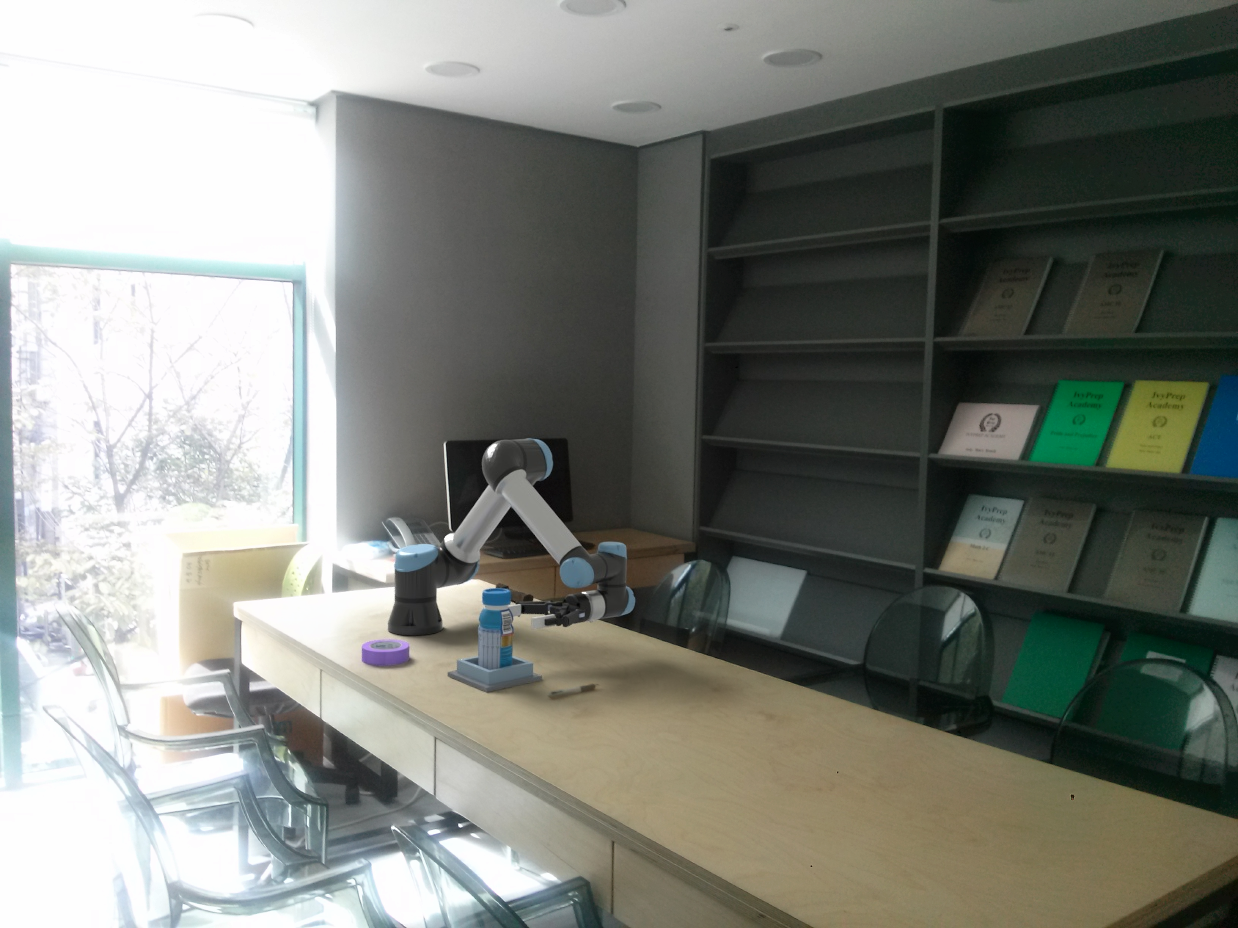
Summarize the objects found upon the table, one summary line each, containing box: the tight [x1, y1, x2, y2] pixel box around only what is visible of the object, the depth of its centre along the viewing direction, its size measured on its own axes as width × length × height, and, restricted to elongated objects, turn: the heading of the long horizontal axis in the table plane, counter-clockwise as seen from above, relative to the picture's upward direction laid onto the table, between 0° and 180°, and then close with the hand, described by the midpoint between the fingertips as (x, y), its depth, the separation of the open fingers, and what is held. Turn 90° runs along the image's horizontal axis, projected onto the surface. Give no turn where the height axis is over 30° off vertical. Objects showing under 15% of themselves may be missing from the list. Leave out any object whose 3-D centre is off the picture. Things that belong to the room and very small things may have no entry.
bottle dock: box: [447, 655, 543, 693], centre depth 241 cm, size 16×16×4 cm
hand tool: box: [495, 582, 534, 603], centre depth 328 cm, size 19×4×5 cm, turn 38°
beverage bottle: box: [477, 587, 515, 670], centre depth 241 cm, size 8×8×20 cm
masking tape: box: [361, 638, 410, 666], centre depth 255 cm, size 12×12×4 cm
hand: (514, 618), depth 244 cm, fingers open, 13 cm apart
